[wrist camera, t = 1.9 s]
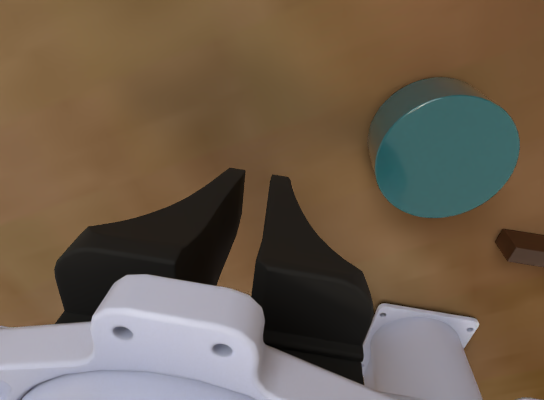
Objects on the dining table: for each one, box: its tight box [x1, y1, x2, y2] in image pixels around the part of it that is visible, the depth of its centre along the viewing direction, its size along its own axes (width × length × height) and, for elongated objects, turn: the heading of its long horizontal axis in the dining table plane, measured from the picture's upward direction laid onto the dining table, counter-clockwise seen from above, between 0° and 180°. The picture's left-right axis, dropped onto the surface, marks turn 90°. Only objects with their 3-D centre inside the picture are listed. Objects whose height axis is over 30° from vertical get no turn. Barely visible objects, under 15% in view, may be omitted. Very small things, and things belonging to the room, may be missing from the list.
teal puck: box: [368, 77, 520, 218], centre depth 20 cm, size 7×7×4 cm
